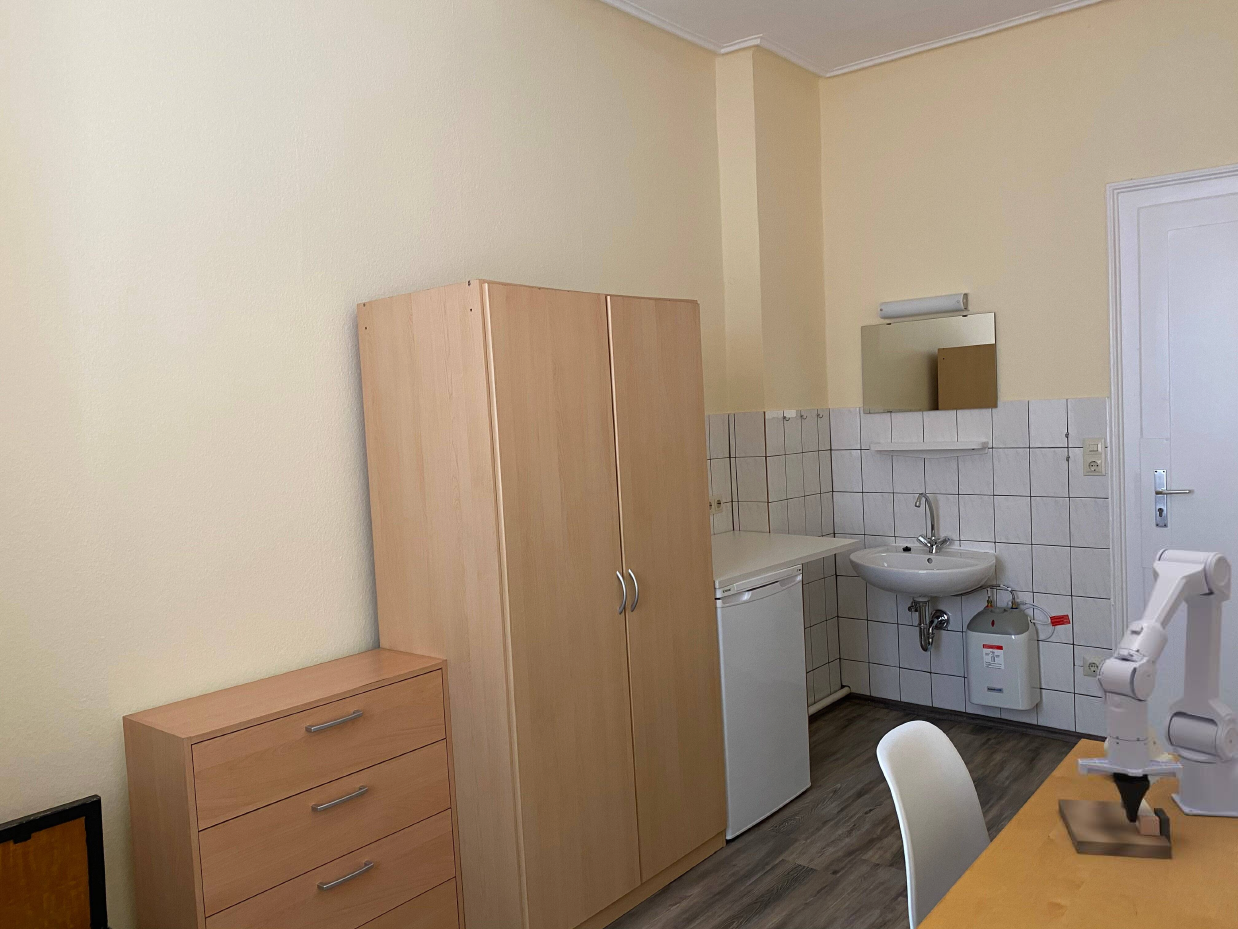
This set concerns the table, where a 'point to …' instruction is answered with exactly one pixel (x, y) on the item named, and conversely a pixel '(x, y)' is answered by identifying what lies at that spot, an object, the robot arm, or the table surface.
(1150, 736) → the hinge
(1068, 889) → the table surface
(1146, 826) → the folding leg
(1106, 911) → the table surface
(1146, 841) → the stool seat
